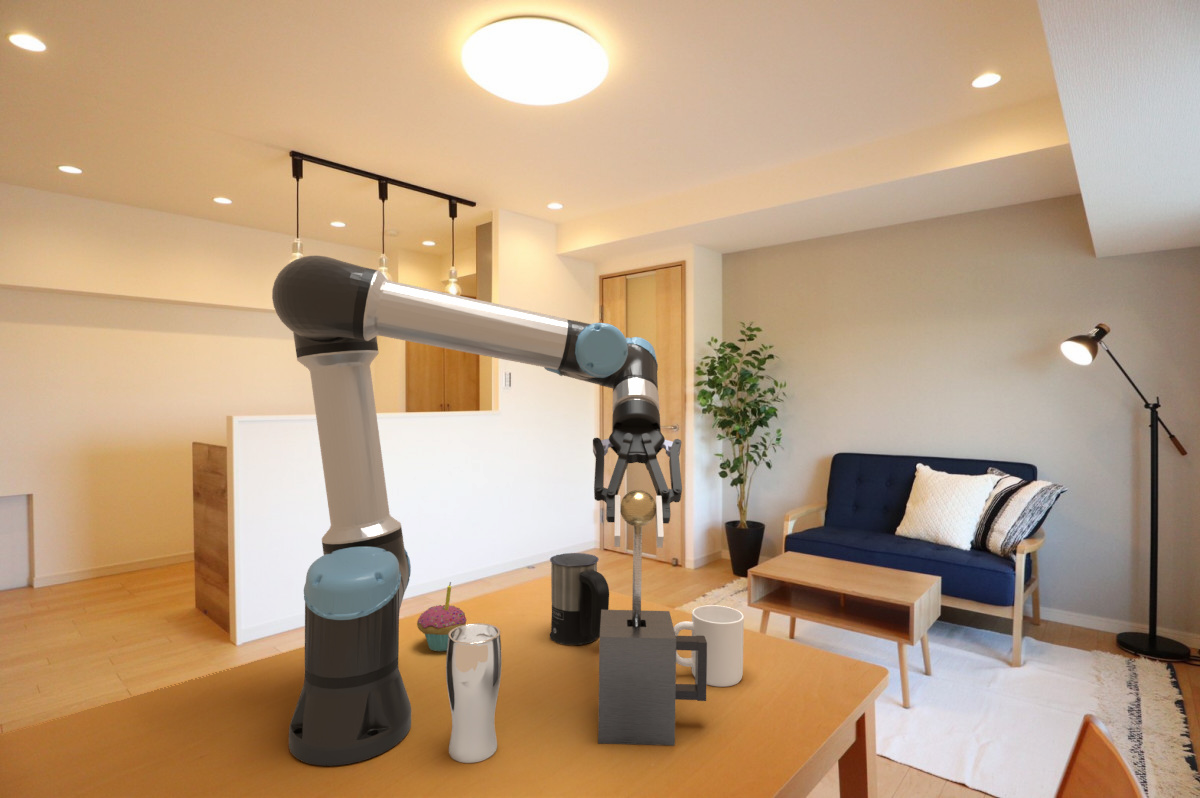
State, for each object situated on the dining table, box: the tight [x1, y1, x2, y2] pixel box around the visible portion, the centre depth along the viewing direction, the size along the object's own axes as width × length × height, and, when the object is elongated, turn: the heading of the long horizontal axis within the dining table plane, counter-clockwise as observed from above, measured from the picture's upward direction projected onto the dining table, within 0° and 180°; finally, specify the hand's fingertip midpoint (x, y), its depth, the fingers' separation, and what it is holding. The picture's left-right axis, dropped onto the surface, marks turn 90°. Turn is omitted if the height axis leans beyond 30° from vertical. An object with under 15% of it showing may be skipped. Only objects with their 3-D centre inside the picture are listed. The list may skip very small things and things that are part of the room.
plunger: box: [620, 489, 656, 627], centre depth 84 cm, size 8×8×22 cm
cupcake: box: [416, 581, 467, 652], centre depth 109 cm, size 9×8×12 cm
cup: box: [673, 604, 745, 688], centre depth 99 cm, size 8×12×10 cm
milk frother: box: [549, 552, 610, 646], centre depth 115 cm, size 14×16×15 cm
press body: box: [597, 609, 707, 746], centre depth 84 cm, size 15×10×14 cm
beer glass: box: [445, 622, 503, 764], centre depth 77 cm, size 7×7×15 cm
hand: (638, 541), depth 80 cm, fingers closed on plunger, 5 cm apart
